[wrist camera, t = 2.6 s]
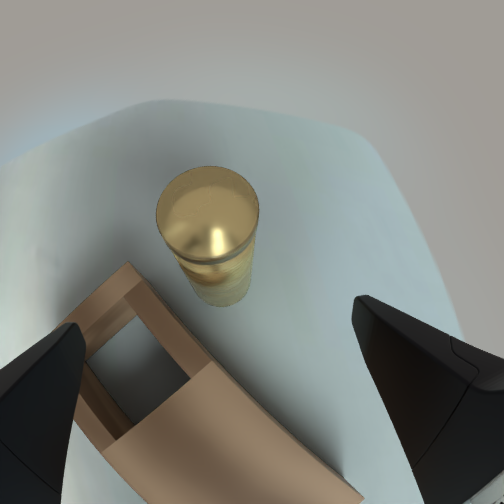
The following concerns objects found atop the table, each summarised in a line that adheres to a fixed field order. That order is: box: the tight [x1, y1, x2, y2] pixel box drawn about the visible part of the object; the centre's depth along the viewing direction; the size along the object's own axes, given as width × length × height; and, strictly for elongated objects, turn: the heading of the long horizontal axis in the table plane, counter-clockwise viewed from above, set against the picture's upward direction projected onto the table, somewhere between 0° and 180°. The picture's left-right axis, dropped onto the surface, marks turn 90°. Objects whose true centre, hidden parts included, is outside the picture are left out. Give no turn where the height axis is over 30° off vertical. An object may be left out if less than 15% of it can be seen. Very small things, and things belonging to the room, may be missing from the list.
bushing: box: [156, 166, 259, 307], centre depth 17 cm, size 4×4×10 cm
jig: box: [52, 262, 365, 504], centre depth 16 cm, size 9×20×4 cm, turn 44°
